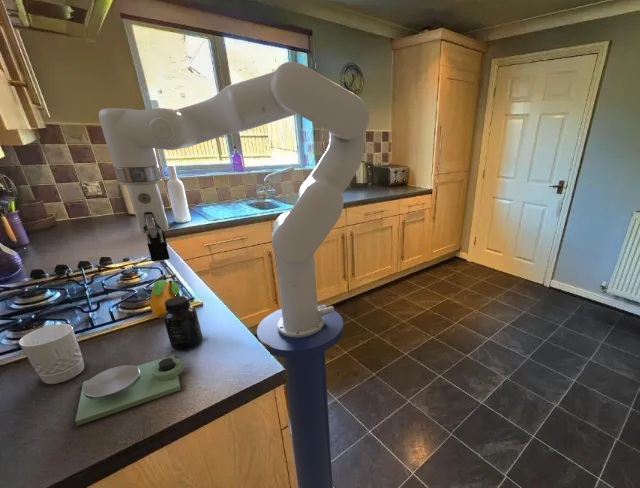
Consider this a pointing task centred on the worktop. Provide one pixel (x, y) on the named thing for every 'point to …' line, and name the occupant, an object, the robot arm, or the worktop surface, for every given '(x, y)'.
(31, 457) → the worktop surface
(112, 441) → the worktop surface
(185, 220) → the bottle
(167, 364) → the tare button
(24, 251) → the worktop surface
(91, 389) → the scale pan
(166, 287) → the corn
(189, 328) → the supplement bottle
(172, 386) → the scale
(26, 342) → the white cup
